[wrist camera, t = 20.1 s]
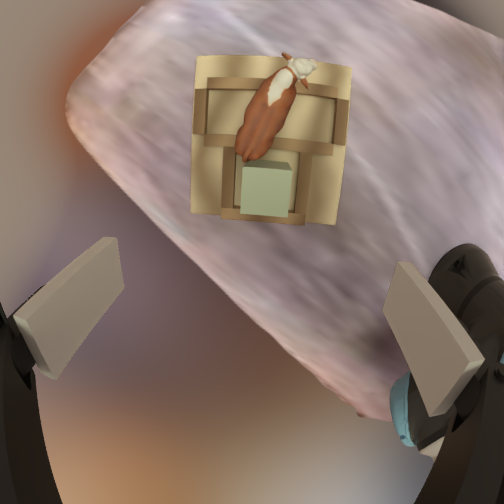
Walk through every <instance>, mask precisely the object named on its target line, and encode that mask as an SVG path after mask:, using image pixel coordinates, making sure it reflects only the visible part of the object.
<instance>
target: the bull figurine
mask: <svg viewBox="0 0 504 504" xmlns="http://www.w3.org/2000/svg"><path fill="white" fill-rule="evenodd" d="M282 56H283V57H284V58H285V59H286V60H287V61H288V65H287V66H285V67H283V68H281V69H279V70H277V71H276V72H275V73H274V74H273V75H271V76H270V77H268V78H266V79H265V80H264V81H263V82H262V84H261V85H260V87H259V89H258V90H257V92H256V93H255V94H254V96H253V97H252V99H251V101H250V103H249V104H248V106H247V107H246V110H245V114H244V123H243V125H242V126H241V127H240V128H239V129H238V131H237V135H236V141H235V152H236V153H237V154H238V155H239V156H242V161H243V162H244V163H246V162H248V161H250V160H252V161H255V160H258V159H259V158H261V157H262V156H264V155H265V154H266V153H267V151H268V149H269V148H270V147H271V146H272V144H273V141H274V137H275V136H276V134H277V133H278V132H279V131H280V130H281V129H282V128H283V126H284V124H285V120H286V118H287V115H288V113H289V111H290V109H291V106H292V104H293V102H294V100H295V97H296V93H297V90H296V87H295V83H296V82H297V80H299V79H300V81H301V83H302V84H303V85H304V86H305V88H306V89H309V84H308V82H307V80H306V77H307V76H308V75H310V74H311V73H312V71H314V70H315V69H316V68H317V64H316V62H315V61H314V60H313V59H309V60H307V59H304V58H298V59H296V60H294V59H293V58H292V57H291V56H290V55H288V54H286V53H282Z"/></svg>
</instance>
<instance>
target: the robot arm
mask: <svg viewBox="0 0 504 504" xmlns="http://www.w3.org/2000/svg"><path fill="white" fill-rule="evenodd" d="M123 289H124V281H123V275H122V270H121V264H120V257H119V250H118V242H117V238H113V237H103V238H102V239H100V240H99V241H98V242H97V243H95V244H94V245H93V246H91V247H90V248H89V249H88V250H86V251H85V252H84V253H83V254H81V255H80V256H79V257H78V258H76V259H75V260H74V261H73V262H71V263H70V264H69V265H68V266H67V267H66V268H64V269H63V270H62V271H61V272H59V273H58V274H57V275H56V276H55V277H54V278H53V279H51V280H50V281H49V282H48V283H47V284H45V285H43V286H42V287H40V288H39V289H38V290H37V291H36V292H35V293H34V295H31V297H29V298H28V300H26V301H25V302H24V303H23V304H22V305H21V306H20V307H19V308H18V309H17V310H15V311H14V312H13V313H12V314H11V315H10V316H9V317H8V318H6V315H5V313H4V311H3V308H2V305H1V303H0V504H63V503H62V501H61V498H60V495H59V492H58V489H57V487H56V483H55V480H54V477H53V473H52V470H51V466H50V462H49V459H48V455H47V451H46V446H45V442H44V437H43V432H42V427H41V420H40V414H39V407H38V399H37V391H36V380H35V374H34V371H33V369H32V367H33V366H34V365H35V363H36V364H37V366H38V368H39V369H40V371H41V373H42V374H43V375H46V376H48V377H50V378H52V379H54V380H56V379H57V378H58V376H59V375H60V373H61V372H62V370H63V369H64V368H65V366H66V365H67V363H68V362H69V360H70V359H71V358H72V356H73V355H74V353H75V352H76V350H77V349H78V348H79V346H80V345H81V344H82V342H83V341H84V339H85V338H86V337H87V335H88V334H89V333H90V331H91V330H92V329H93V327H94V326H95V324H96V323H97V322H98V321H99V319H100V318H101V317H102V316H103V314H104V313H105V312H106V310H107V309H108V308H109V307H110V305H111V304H112V303H113V301H114V300H115V299H116V298H117V296H118V295H119V294H120V293H121V291H122V290H123ZM382 311H383V313H384V315H385V317H386V319H387V321H388V323H389V325H390V327H391V329H392V331H393V333H394V336H395V338H396V340H397V342H398V344H399V346H400V348H401V350H402V353H403V355H404V357H405V359H406V361H407V364H408V366H409V368H410V371H409V372H408V373H406V374H405V375H404V376H402V377H401V378H400V379H398V380H397V381H396V382H395V383H394V384H393V386H392V388H391V391H390V410H391V415H392V420H393V423H394V426H395V429H396V431H397V434H398V435H400V438H401V441H402V442H403V444H405V445H406V446H415V445H417V448H418V450H419V453H420V454H424V455H428V456H431V457H432V458H433V460H434V464H433V467H432V469H431V471H430V474H429V476H428V478H427V480H426V482H425V484H424V486H423V488H422V490H421V492H420V493H419V495H418V497H417V499H416V501H415V503H414V504H504V281H503V280H502V279H501V278H500V277H499V275H498V273H497V271H496V269H495V267H494V265H493V263H492V262H491V260H490V258H489V256H488V255H487V254H486V253H485V252H484V251H483V250H482V249H480V248H479V247H478V246H476V245H473V244H464V245H461V246H458V247H456V248H454V249H453V250H451V251H450V252H449V253H447V254H446V255H445V256H444V257H443V258H442V259H441V261H440V262H439V263H438V264H437V266H436V267H435V269H434V271H433V273H432V275H431V277H430V279H429V282H427V281H426V279H425V278H424V277H423V276H422V275H421V273H420V272H419V271H418V270H417V269H416V268H415V267H414V265H413V264H412V263H411V262H400V261H398V262H397V265H396V269H395V272H394V275H393V279H392V282H391V285H390V288H389V291H388V294H387V297H386V300H385V303H384V306H383V309H382Z"/></svg>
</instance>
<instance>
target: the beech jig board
mask: <svg viewBox="0 0 504 504" xmlns="http://www.w3.org/2000/svg"><path fill="white" fill-rule="evenodd" d="M294 60H296V59H294ZM315 62H316V64H317V68H316V69H315V70H314V71H312V73H311V74H310V75H308V76H307V77H306V80H307V82H308V84H309V89H306V88H305V86H304V85H303V84H302V83H301V81H300V79H299V80H297V82H296V83H295V87H296V90H297V93H296V97H295V100H294V102H293V104H292V106H291V109H290V111H289V113H288V115H287V118H286V120H285V124H284V126H283V128H282V129H281V130H280V131H279V132H278V133H277V134H276V136H275V137H274V141H273V144H272V146H271V147H270V148H269V149H268V151H267V153H266V154H265V155H264V156H262V157H261V158H259V159H258V160H267V161H279V162H288V163H289V165H290V167H291V169H292V180H291V190H290V200H289V209H288V218H287V217H276V216H264V215H252V214H240V208H241V189H242V171H243V166H244V165H245V163H244V162H243V161H242V156H239V155H238V154H237V153H236V152H235V141H236V135H237V131H238V129H239V128H240V127H241V126H242V125H243V123H244V114H245V110H246V107H247V106H248V104H249V103H250V101H251V99H252V97H253V96H254V94H255V93H256V92H257V90H258V89H259V87H260V85H261V84H262V82H263V81H264V80H265V79H266V78H268V77H270V76H271V75H273V74H274V73H275V72H276V71H277V70H279V69H281V68H283V67H285V66H287V65H288V61H287V60H286V59H285V58H283V57H270V56H249V55H214V56H197V61H196V73H195V87H194V102H193V122H192V149H191V213H195V214H211V215H221V219H233V220H246V221H259V222H271V223H282V224H293V225H304V226H305V222H309V223H319V224H329V225H335V223H336V217H337V211H338V204H339V197H340V190H341V183H342V176H343V168H344V159H345V150H346V141H347V131H348V119H349V107H350V92H351V72H352V68H351V67H346V66H341V65H335V64H330V63H323V62H317V61H315Z"/></svg>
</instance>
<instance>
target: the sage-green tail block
mask: <svg viewBox="0 0 504 504" xmlns="http://www.w3.org/2000/svg"><path fill="white" fill-rule="evenodd" d="M291 180H292V169H291V167H290V165H289V163H288V162H279V161H267V160H255V161H252V160H250V161H248V162H246V163H245V165H244V166H243V171H242V189H241V208H240V214H252V215H264V216H276V217H287V218H288V209H289V200H290V190H291Z"/></svg>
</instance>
